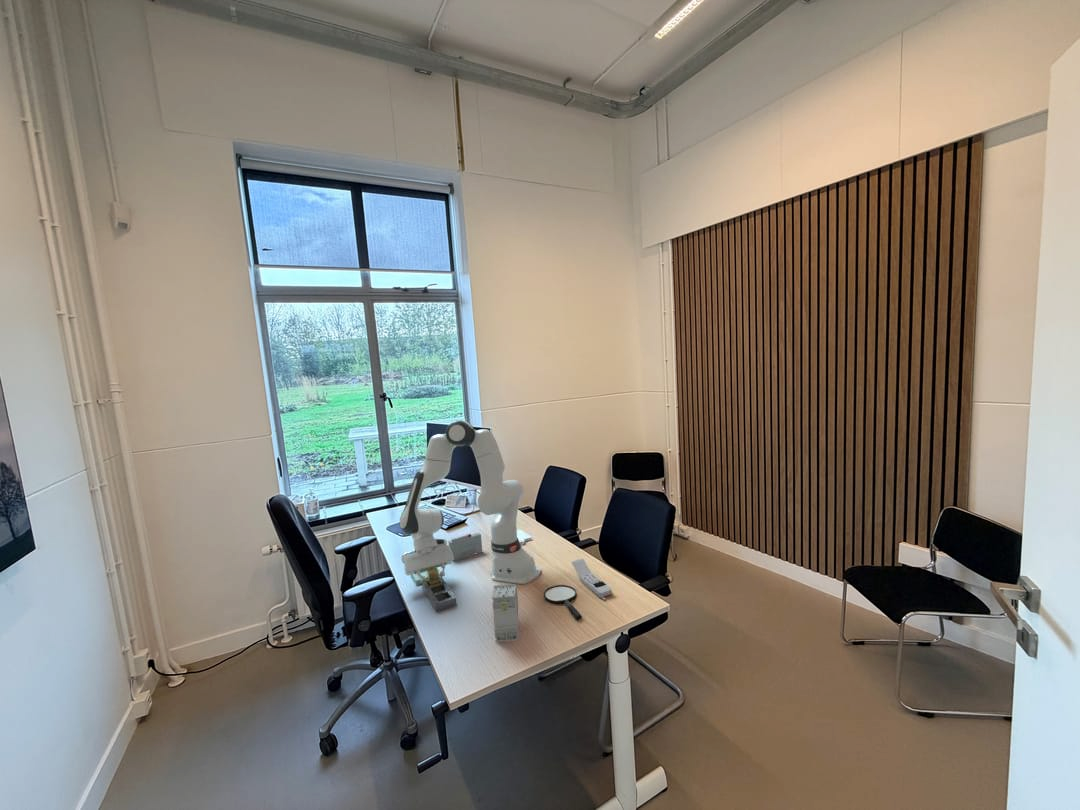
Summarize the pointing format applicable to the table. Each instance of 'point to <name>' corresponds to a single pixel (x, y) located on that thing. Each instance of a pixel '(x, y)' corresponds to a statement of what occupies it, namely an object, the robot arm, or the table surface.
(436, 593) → the socket block
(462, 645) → the table surface
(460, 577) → the table surface
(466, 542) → the cassette player
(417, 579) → the parts tray
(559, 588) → the magnifying glass
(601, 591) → the mobile phone
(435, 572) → the brass plug
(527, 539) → the mounting plate
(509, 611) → the circuit breaker
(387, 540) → the table surface
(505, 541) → the robot arm
